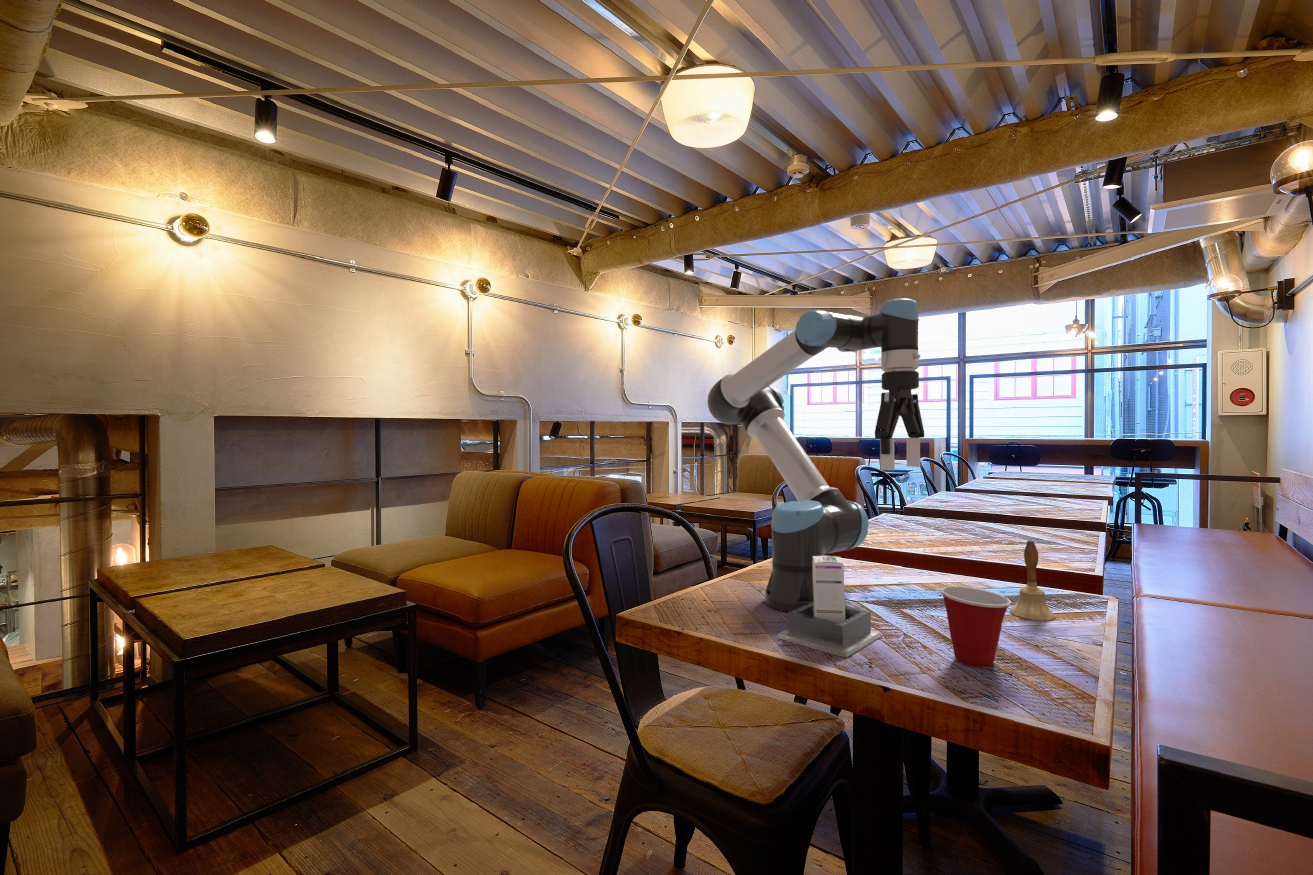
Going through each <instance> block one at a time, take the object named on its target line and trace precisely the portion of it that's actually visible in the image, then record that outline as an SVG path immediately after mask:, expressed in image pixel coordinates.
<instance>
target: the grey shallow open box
mask: <svg viewBox="0 0 1313 875" xmlns="http://www.w3.org/2000/svg"><path fill="white" fill-rule="evenodd" d="M871 615H872V613H871V611H869V610H864V609H861V608H855V607H852V606H851V607H850V606H846V605H845V621H843V622H841V623H836V622H832V621H828V620H824V619H820V618H816V617H814V608H813V602H812V603H809V604H807V605H805V606H802V607H800V608H798V609H796V610H793V611H791V612H787V629H785V630H783V631H781V632H779V633H778V639H780V640H782V641H786V642H789V643H793V644H795V645H796V644H797V645H799V646H800V645H801V646H803V647H805V648H811V649H813V650H817V651H821V652H823V653H828V654H830V655H835V656H838V657H842V658H844V659H845V658H846V659H847V658H849V657H850V656H852V655H854V654H855V653H856V652H859V651H860V650H862V649H863V648H865V647H867V646H868V645H870V644H871V643H873V642H875V641H877V640H878V639H880V638H881V631H877V630H874V629H871V628H872V622H871V621H872V620H871V619H872V616H871Z"/></svg>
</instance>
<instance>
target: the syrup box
mask: <svg viewBox="0 0 1313 875" xmlns="http://www.w3.org/2000/svg"><path fill="white" fill-rule="evenodd" d="M812 558H813V608H814V617H816V618H820V619H824V620H828V621H832V622H836V623H841V622H843V621H845V606H846V601H845V600H846V598H845V596H846V595H845V594H846V593H845V572H844V571H845V570H844V569H845V566H844V563H843V562H844V561H843V559H842V557H841V556H837V555H836V556H835V555H824V556H813V557H812Z"/></svg>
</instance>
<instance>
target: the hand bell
mask: <svg viewBox="0 0 1313 875" xmlns="http://www.w3.org/2000/svg"><path fill="white" fill-rule="evenodd" d="M1023 559H1024V564H1025V566H1026V571H1027V573H1026V574H1027V576H1026V578H1027V579H1026V582H1027V583H1026V584H1027V585H1026V586H1023V587H1021V588H1020V590H1019V593H1018V594H1019V595H1018V598H1017V601H1016V604H1014V606H1012V607H1011V608H1010V610H1009V613H1010V614H1011V615H1013V616H1014V617H1016V618H1017V617H1018V618H1020V619H1024V620H1029V621H1036V622H1050V621H1054V620H1055V619H1056V614H1055V613H1054V612H1053V611H1052V610H1051V609H1050V608H1049V605H1048V603H1047V599H1046V593H1045V591H1044V590H1043V589H1041V588H1039V587H1038V585H1037V584H1038V582H1037V568H1038V567H1037V566H1038V565H1039V552H1038V549H1037V546H1036V543H1035V541H1034V540H1027V542H1026V545H1025V548H1024V552H1023Z"/></svg>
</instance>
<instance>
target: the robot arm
mask: <svg viewBox="0 0 1313 875" xmlns="http://www.w3.org/2000/svg"><path fill="white" fill-rule="evenodd" d="M918 310H919V309H918V303H917V301H916V300H914V299H911V298H894V299H889V300H886V301H884V302H882V303H881V305H880V310H879V313H876V314H871V315H864V316H857V315H851V314H842V313H837V312H830V311H826V310H821V309H820V310H811V309H810V310H808V311H806V312H803V313H802V314H801V315H800V317H799V319H798V321H796V325H795V329H794V330H793V331H792V332H790V333H789V334H787V335H786V336H784V337H783V338H782V339H781V340H779V341H778V342H777V343H775V344H773V345H772V346H771V347H770V348H767V350H765V351H764V352H762V353H760V355H758V356H757V357H756V358H755V359H753V360H752V361H750V362H749V363H748V364H746V365H745V366H744V367H742V368H741V369H739V370H738V371H737V372H735V373H734V374H730V373H729V374H726V375H725V376H723V377H722V378H721V379H719V380H718V381H717V382H716V383H714V385H713V386H712V387H711V389H710V390H709V392H708V396H707V408H708V410H709V413H710V414H711V415H712V417H713V418H714V419H715V420H716V421H718V422H720V423H722V424H725V425H741V426H742V427H743V428H744V430H745V432H746V434H748V436H749V437H750V438H757V440H758V442H759V443H760V445H761V446H762V447H763V449H764V450H765V452H766V454H767V456H768V457H769V459H770V460H771V462H772V463H773V465H774V466H775V468H776V469H777V471H778V473H779V474H780V475H781V477H782V478H783V480H784V482H785V484H787V487H788V488H789V489H790V491H791V492H792V494H793V495H794V497H795V498H796V500H795V501H794V500H793V501H791V500H790V501H787V502H782V503H779V504H778V505H776V506H775V507H774V509H772V513H771V524H770V527H771V556H772V558H771V560H772V563H771V564H772V566H771V567H772V569H771V573H770V576H769V579H768V582H767V586H766V589H765V592H764V601H765V602H764V603H765V604H766V605H767V606H768V607H770V608H772V609H775V610H777V611H781V612H786V613H789V612H791V611H793V610H796V609H798V608H800V607H802V606H805V605H807V604H809V603H812V602H813V558H812V557H813V556H825V555H827V554H833V553H838V552H845V551H846V552H847V551H850V550H852V549H855V548H857V547H859V546H860V545H861V544H863V543H864V542H865V540H866V538H867V535H868V533H869V526H870V525H869V523H870V522H869V517H868V515H867V512H866V511H865V509H864V508H863V507H862V505H861V504H859V503H858V502H855V501H853V500H847V499H846V498H845V496H844V494H843V493H842V492H841V491H840V489H839V488H837V487H833V486H829V484H828V483H827V481H826V480H825V478H824V476H822V474H821V472H820V471H819V470H818V468H817V467H816V465H815V464H814V463H813V461H812V460H811V458H810V456H809V455H808V454H807V453H806V451H805V450H804V448H803V447H802V445H801V444H800V442H799V441H798V439H797V438H796V437H795V435H794V434H793V433H792V431H791V430H790V428H789V427H788V425H787V424H786V421H784V419H785V414H786V413H785V412H784V410H785V406H784V405H783V404H784V398H783V395H782V394H781V392H780V391H779V390H778V388H776V387H774V386H772V385H773V384H774V383H776V382H777V381H778V380H780V379H782V378H783V377H785V376H786V375H788V374H789V373H790V372H792V371H794V370H795V369H797V368H798V367H799V366H801V365H802V364H804V363H805V362H807V361H809V360H810V359H811V358H813V357H815V356H816V355H818V354H819V353H821V352H823V351H824V350H826V349H827V348H836V349H837V350H838V351H839V352H842V353H846V352H847V353H848V352H852V353H855V352H857V351H862V350H870V349H876V348H880V349H881V352H880V362H881V363H880V364H881V365H880V367H881V368H880V369H881V371H883V373H882V374H881V389H882V390H883V391H887V392H881V394H880V406H879V411H878V414H877V418H876V419H877V420H876V424H875V429H874V438H875V440H879V444H880V445H879V446H880V447H879V458H880V459H879V460H880V461H879V462H880V463H879V464H880V465H879V466H880V471H895V467H896V466H895V439H893V435H894V433H895V430H896V427H897V424H898V421H899V418H901V420H902V422H903V425H904V427H905V431H906V434H907V436H908V437H906V440H905V441H906V443H905V444H906V467H915V468H917V467H918V468H921V438H922V439H923V438H925V429H924V424H923V420H922V415H921V410H920V405H919V395H918V394H917V393H913V394H912V390H917V389H918V388H919V387H920V377H919V376H920V373H919V372H918V371H916V370H917V369H919V359H921V354H920V353H919V321H920V318H919V311H918Z"/></svg>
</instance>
